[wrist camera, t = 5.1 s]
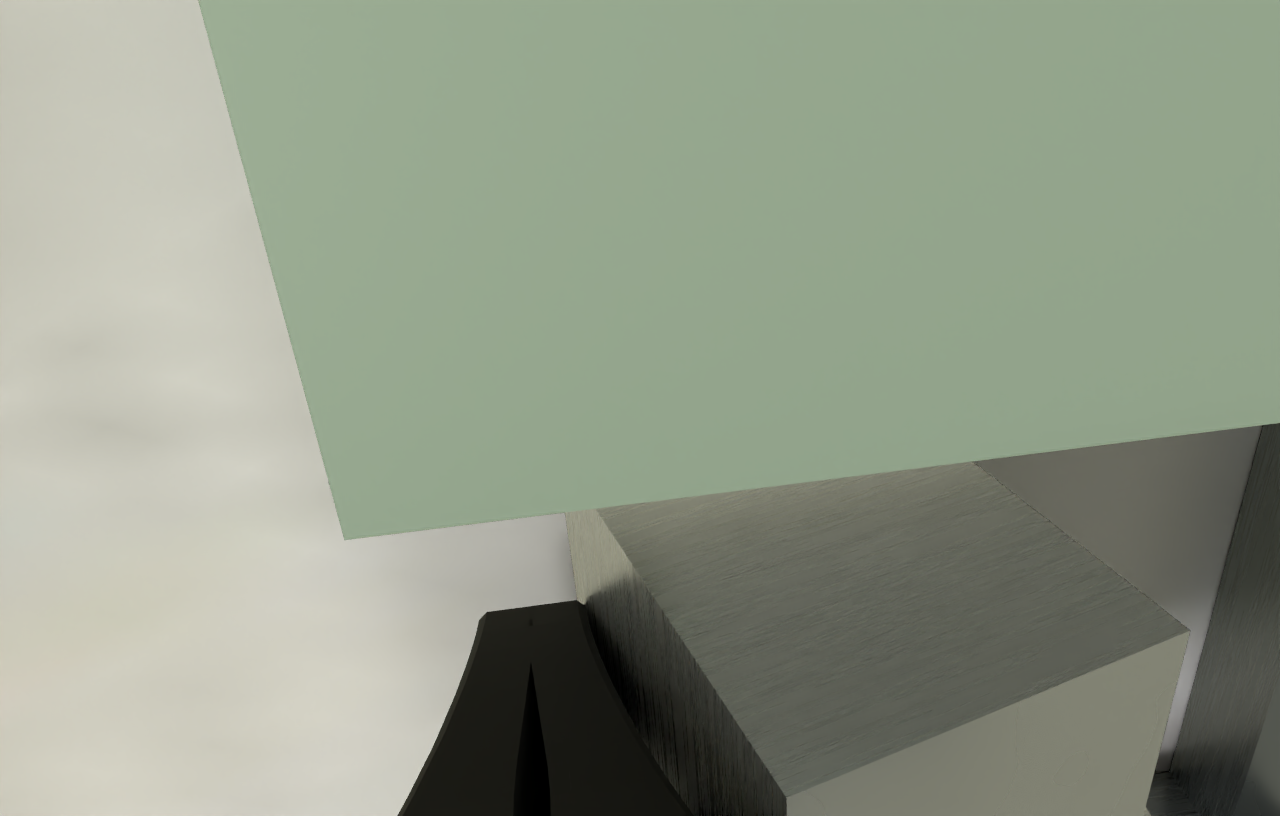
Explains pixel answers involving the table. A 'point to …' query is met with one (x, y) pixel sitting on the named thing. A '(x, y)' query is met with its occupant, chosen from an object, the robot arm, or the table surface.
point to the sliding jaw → (753, 236)
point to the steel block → (878, 650)
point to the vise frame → (1236, 672)
